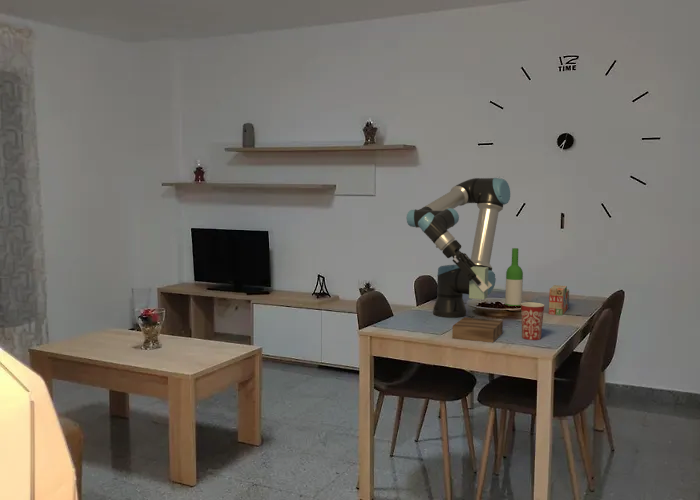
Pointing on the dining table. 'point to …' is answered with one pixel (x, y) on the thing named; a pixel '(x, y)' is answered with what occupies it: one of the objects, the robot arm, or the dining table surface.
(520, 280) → the wine bottle
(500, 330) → the walnut riser
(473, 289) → the green block
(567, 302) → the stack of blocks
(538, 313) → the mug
